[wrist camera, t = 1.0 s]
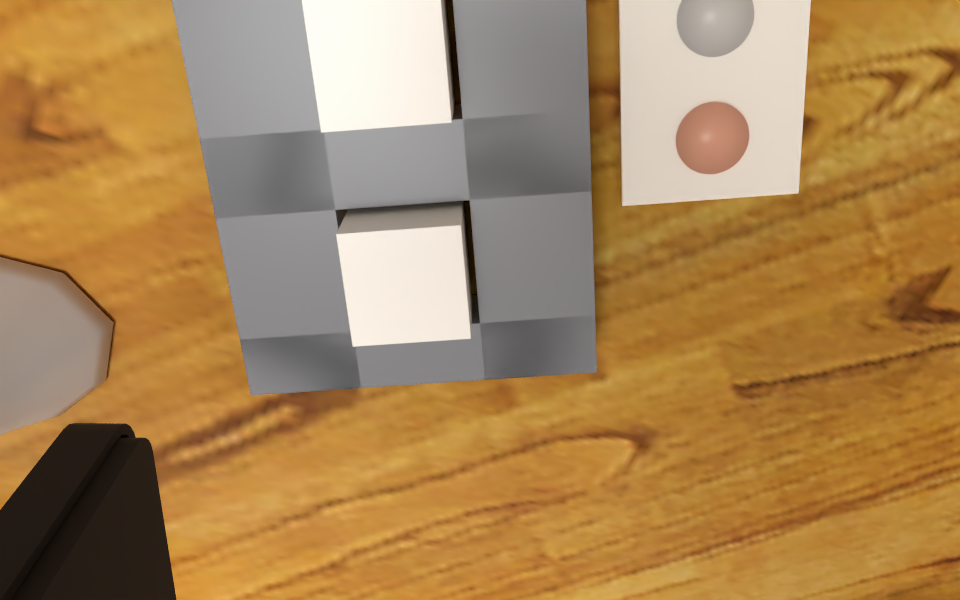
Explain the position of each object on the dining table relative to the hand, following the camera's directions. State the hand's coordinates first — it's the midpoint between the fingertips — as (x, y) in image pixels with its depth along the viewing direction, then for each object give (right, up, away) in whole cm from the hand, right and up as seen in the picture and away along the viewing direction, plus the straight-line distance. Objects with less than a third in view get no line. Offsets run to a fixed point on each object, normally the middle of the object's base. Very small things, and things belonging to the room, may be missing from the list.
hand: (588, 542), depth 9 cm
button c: (-4, +4, +26) cm, 26 cm away
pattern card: (+8, +13, +24) cm, 28 cm away
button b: (-4, +12, +23) cm, 26 cm away
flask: (-21, +1, +29) cm, 36 cm away
